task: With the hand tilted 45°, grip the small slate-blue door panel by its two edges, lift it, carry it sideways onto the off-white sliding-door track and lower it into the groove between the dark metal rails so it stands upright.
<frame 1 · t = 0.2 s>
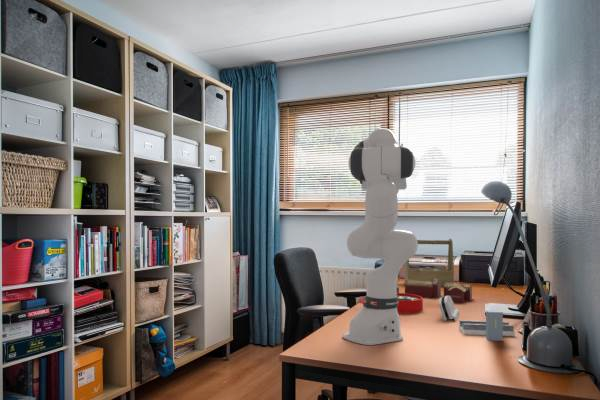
hand: (383, 198, 200), 52 cm above the table, tool tilted 20°, fingers open, 8 cm apart
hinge: (448, 317, 193), on the table
track base: (485, 332, 167), on the table
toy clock: (400, 309, 208), on the table
toy houses: (426, 297, 239), on the table
caddy: (428, 285, 280), on the table
door panel: (494, 339, 157), on the table
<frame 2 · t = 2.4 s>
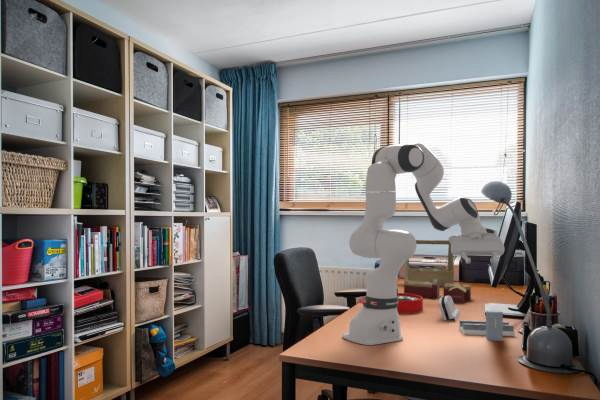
hand: (481, 262, 172), 26 cm above the table, tool tilted 45°, fingers open, 8 cm apart
toy houses: (425, 298, 238), on the table
everything else where it was.
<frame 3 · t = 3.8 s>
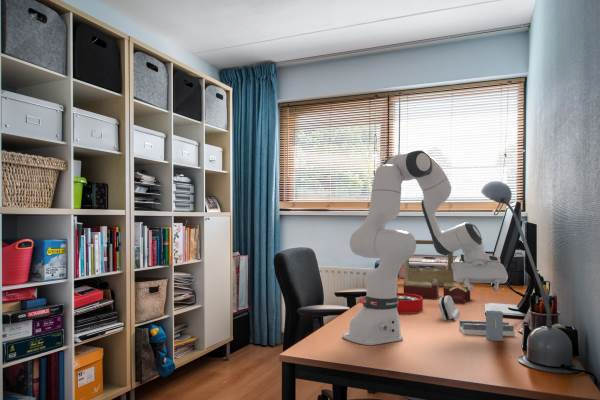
hand: (483, 290, 169), 16 cm above the table, tool tilted 45°, fingers open, 8 cm apart
toy houses: (425, 298, 237), on the table
everything else where it was.
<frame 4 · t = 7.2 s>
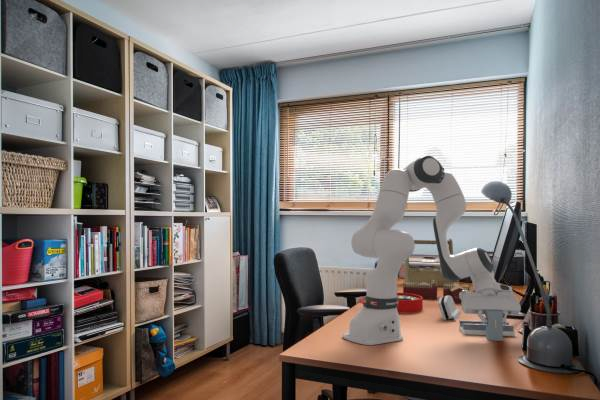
hand: (494, 323, 157), 6 cm above the table, tool tilted 45°, fingers closed on door panel, 5 cm apart
toy houses: (425, 299, 235), on the table
door panel: (494, 339, 157), on the table, touching gripper
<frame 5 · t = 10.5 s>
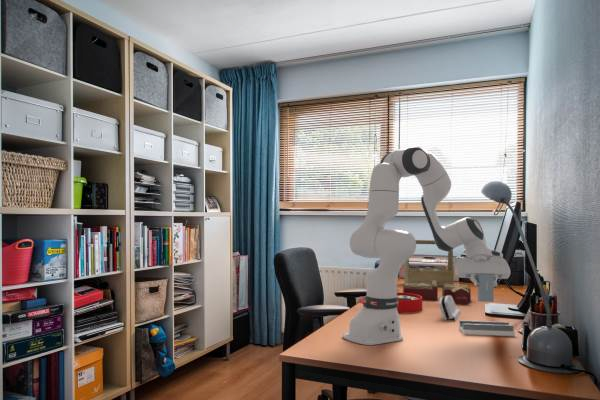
hand: (486, 285, 167), 18 cm above the table, tool tilted 45°, fingers closed on door panel, 5 cm apart
toy houses: (425, 300, 232), on the table
door panel: (485, 301, 167), point 12 cm above the table, touching gripper
when the fingers open (9 cm above the table, at t = 12.8 s): door panel drops 1 cm, resting on track base.
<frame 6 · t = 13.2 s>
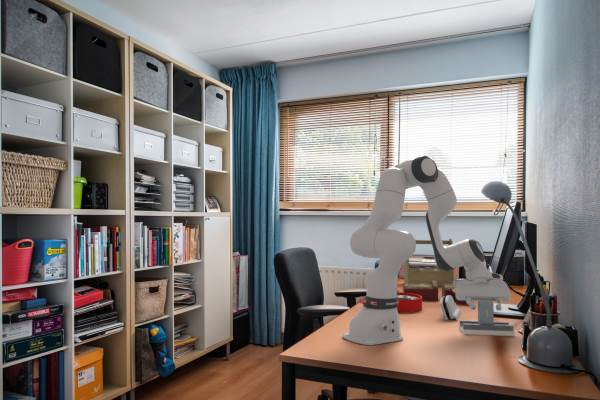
hand: (486, 309, 166), 9 cm above the table, tool tilted 45°, fingers open, 8 cm apart
toy houses: (426, 300, 230), on the table
door panel: (485, 328, 167), point 1 cm above the table, touching track base
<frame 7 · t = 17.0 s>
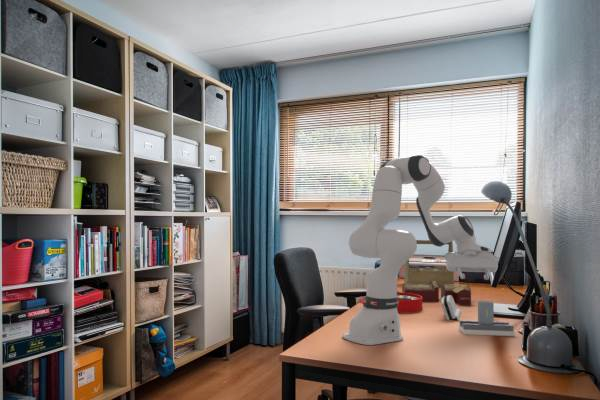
hand: (474, 278, 180), 19 cm above the table, tool tilted 45°, fingers open, 8 cm apart
toy houses: (426, 301, 228), on the table
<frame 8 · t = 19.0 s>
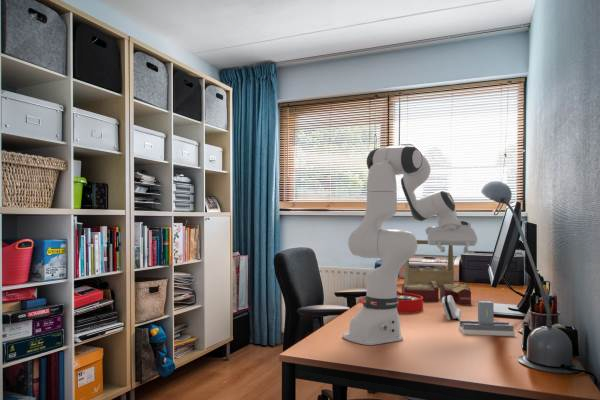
hand: (454, 251, 183), 29 cm above the table, tool tilted 45°, fingers open, 8 cm apart
at the end: door panel 0.1 cm from the track base (horizontally); door panel point 1.5 cm above the table; door panel tilted 0° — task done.
